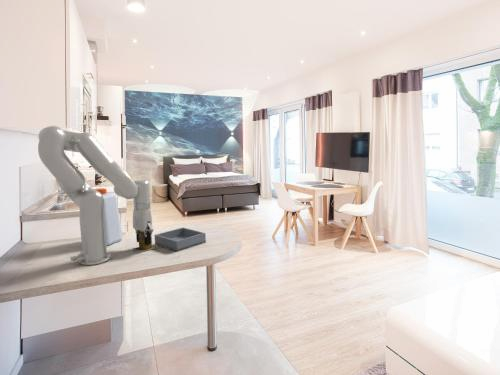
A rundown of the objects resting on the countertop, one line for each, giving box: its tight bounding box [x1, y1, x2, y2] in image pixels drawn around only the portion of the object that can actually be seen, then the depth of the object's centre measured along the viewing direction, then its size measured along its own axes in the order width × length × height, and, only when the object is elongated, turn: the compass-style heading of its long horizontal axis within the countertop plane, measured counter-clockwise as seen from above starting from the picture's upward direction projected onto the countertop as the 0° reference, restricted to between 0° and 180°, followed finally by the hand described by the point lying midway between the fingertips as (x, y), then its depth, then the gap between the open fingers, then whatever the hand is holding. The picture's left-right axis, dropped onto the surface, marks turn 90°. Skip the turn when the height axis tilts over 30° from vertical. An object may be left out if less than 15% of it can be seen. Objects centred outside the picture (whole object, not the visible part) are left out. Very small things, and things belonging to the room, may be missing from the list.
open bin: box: [154, 227, 207, 253], centre depth 161 cm, size 18×18×5 cm
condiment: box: [132, 228, 156, 253], centre depth 152 cm, size 7×8×12 cm
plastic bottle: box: [94, 187, 123, 247], centre depth 163 cm, size 15×15×28 cm
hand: (143, 242), depth 153 cm, fingers closed on condiment, 6 cm apart
